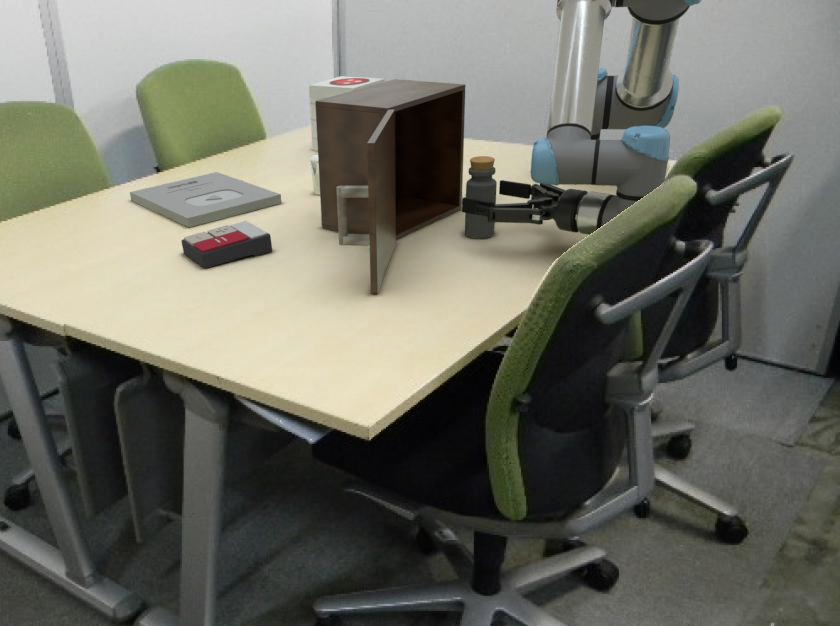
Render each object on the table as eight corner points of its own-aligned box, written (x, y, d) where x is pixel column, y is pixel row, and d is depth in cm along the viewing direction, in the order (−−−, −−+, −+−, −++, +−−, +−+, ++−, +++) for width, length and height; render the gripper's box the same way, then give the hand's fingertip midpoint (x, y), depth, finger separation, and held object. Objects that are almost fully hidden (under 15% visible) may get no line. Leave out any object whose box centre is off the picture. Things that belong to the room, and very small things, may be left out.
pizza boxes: (362, 168, 222) (360, 96, 213) (302, 149, 244) (298, 83, 235) (421, 155, 230) (421, 85, 221) (358, 137, 252) (356, 73, 244)
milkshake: (331, 189, 207) (329, 147, 202) (329, 195, 202) (327, 152, 197) (312, 189, 207) (310, 148, 202) (310, 196, 203) (308, 153, 198)
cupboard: (461, 209, 186) (465, 84, 173) (389, 243, 170) (387, 108, 157) (395, 197, 197) (394, 79, 184) (321, 228, 181) (315, 100, 168)
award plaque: (217, 180, 221) (216, 171, 220) (281, 203, 199) (280, 194, 198) (131, 200, 209) (129, 191, 208) (188, 227, 187) (187, 218, 186)
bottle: (476, 240, 168) (479, 164, 161) (458, 233, 173) (460, 158, 165) (500, 234, 170) (504, 159, 163) (482, 227, 175) (485, 153, 168)
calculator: (179, 236, 171) (246, 217, 176) (183, 256, 173) (249, 237, 179) (201, 251, 162) (270, 230, 168) (204, 272, 165) (273, 251, 170)
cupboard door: (337, 292, 149) (331, 143, 136) (361, 243, 171) (357, 110, 158) (377, 293, 148) (374, 142, 135) (395, 243, 170) (394, 109, 157)
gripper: (548, 252, 149) (446, 231, 162) (611, 214, 164) (513, 198, 177) (552, 210, 145) (446, 192, 158) (616, 175, 160) (515, 162, 173)
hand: (482, 195), depth 168 cm, fingers open, 13 cm apart
